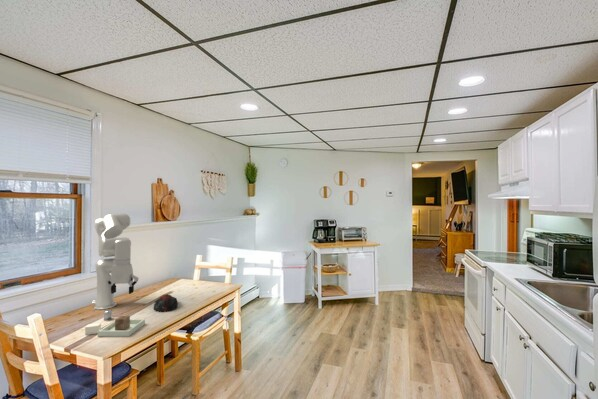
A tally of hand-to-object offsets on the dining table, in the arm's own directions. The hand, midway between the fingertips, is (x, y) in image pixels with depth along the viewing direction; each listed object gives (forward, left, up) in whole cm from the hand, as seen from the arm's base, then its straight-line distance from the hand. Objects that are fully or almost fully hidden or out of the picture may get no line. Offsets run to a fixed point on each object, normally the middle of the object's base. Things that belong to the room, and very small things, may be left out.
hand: (122, 293), depth 163 cm
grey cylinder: (-16, +13, -19) cm, 28 cm away
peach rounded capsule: (-4, +10, -19) cm, 22 cm away
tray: (+2, -2, -19) cm, 19 cm away
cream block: (-12, -5, -19) cm, 24 cm away
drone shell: (+8, +35, -20) cm, 41 cm away
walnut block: (+2, -2, -19) cm, 19 cm away
